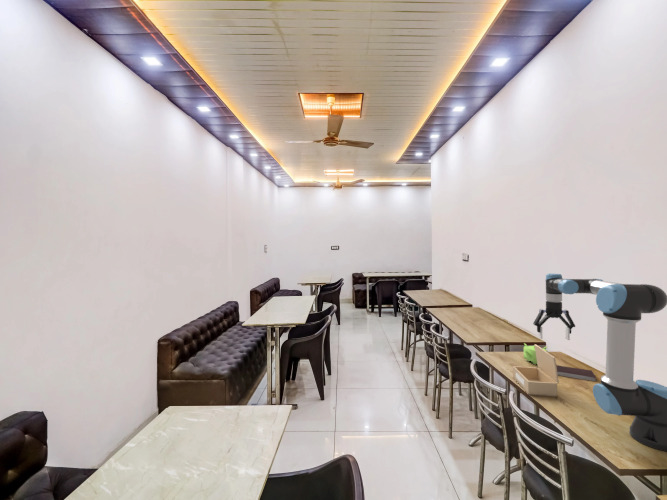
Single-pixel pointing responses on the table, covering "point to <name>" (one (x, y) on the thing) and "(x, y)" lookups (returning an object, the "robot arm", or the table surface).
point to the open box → (535, 381)
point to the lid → (546, 363)
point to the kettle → (531, 353)
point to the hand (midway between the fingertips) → (553, 338)
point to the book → (575, 373)
